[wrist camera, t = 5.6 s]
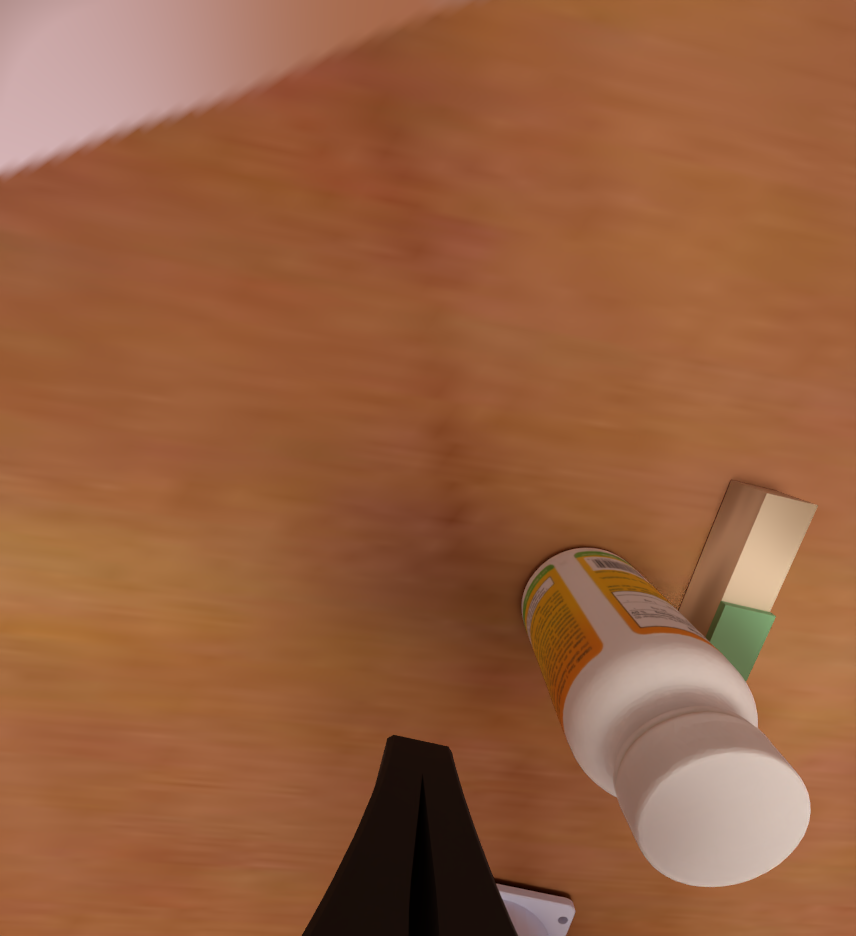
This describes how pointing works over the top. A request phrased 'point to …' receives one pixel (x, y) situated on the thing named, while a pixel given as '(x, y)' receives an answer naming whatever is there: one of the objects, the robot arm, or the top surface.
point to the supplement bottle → (661, 722)
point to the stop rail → (745, 569)
